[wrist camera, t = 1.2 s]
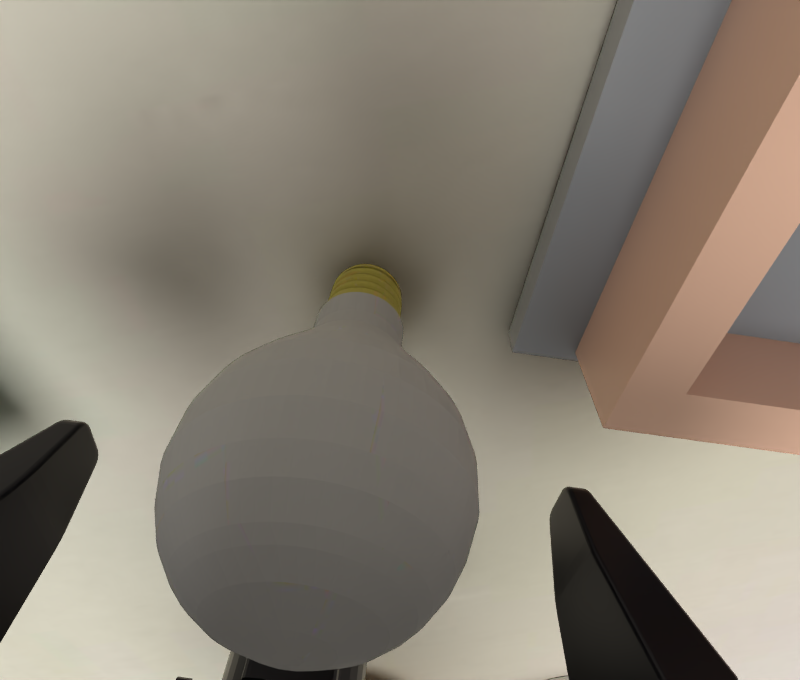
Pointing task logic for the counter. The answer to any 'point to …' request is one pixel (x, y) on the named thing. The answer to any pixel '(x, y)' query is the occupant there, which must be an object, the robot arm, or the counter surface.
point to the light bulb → (319, 491)
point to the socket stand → (681, 227)
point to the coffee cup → (561, 678)
